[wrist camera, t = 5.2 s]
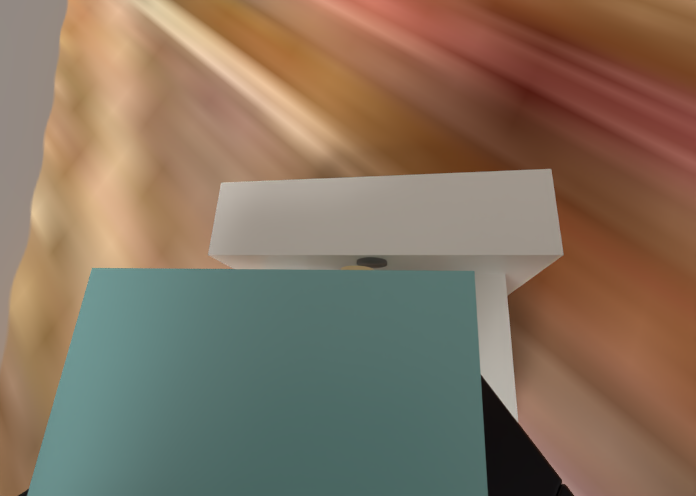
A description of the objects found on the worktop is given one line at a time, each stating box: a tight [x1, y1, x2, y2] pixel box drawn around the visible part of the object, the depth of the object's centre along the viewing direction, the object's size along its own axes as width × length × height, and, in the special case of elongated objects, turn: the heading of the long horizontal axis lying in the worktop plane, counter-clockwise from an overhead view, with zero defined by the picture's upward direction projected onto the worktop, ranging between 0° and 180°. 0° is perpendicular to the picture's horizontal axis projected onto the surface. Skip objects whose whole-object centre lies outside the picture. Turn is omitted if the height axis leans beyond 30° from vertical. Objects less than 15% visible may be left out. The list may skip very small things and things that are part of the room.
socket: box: [208, 169, 564, 422], centre depth 14 cm, size 10×12×7 cm
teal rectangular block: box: [27, 266, 488, 496], centre depth 9 cm, size 6×4×12 cm
